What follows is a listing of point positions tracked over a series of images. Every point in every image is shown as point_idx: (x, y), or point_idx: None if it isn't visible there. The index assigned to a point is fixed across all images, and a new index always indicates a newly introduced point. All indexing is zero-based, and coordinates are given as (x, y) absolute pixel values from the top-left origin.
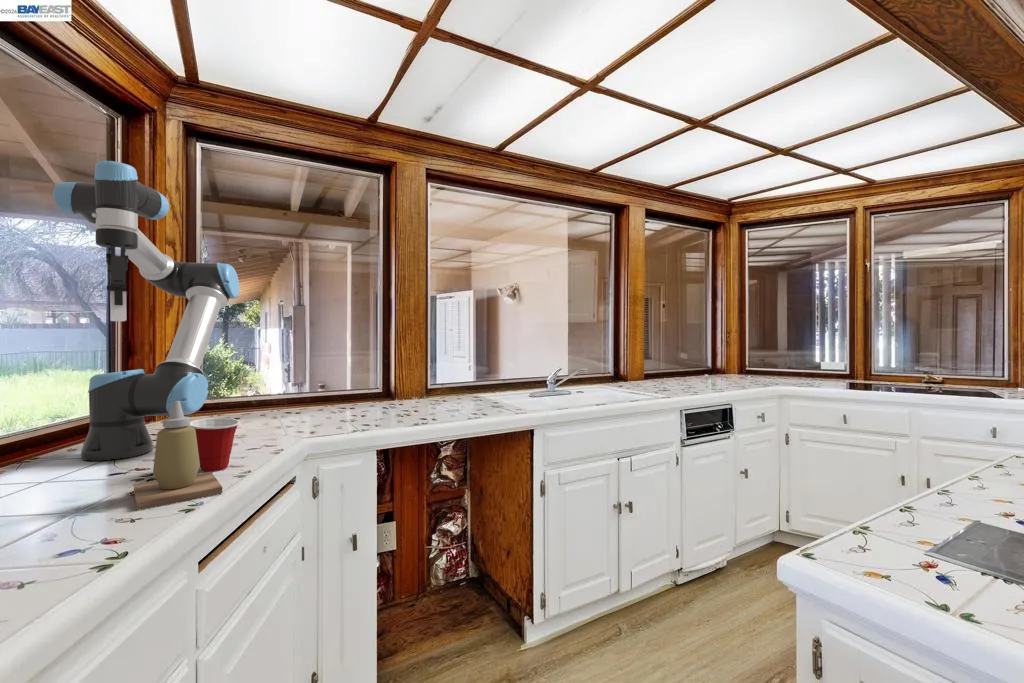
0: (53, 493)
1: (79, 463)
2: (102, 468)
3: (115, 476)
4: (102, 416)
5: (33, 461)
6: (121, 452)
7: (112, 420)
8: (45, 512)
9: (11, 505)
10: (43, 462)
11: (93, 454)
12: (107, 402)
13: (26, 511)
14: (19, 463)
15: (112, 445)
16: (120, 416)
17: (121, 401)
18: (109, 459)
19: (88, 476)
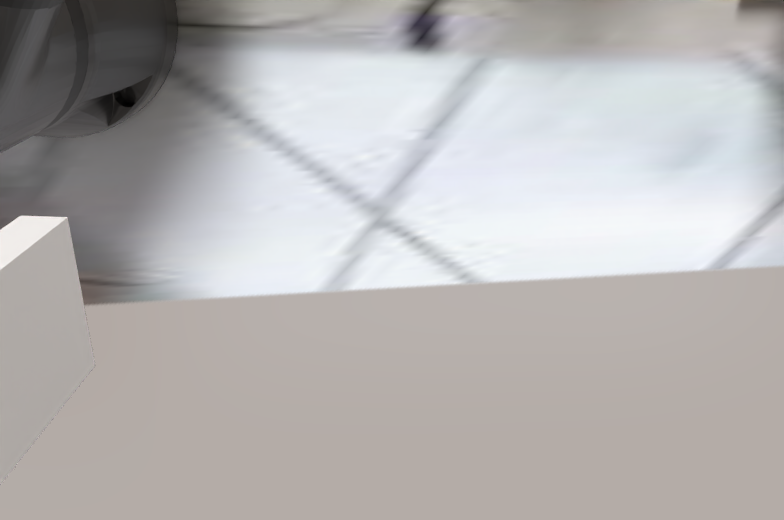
0: (556, 190)
1: (156, 133)
2: (296, 66)
3: (463, 31)
4: (51, 105)
5: None
6: (165, 5)
7: (72, 60)
8: (763, 201)
9: (607, 270)
10: None
11: (146, 99)
12: (21, 101)
13: (708, 238)
14: None
15: (146, 42)
16: (62, 29)
17: (46, 38)
18: (174, 43)
19: (395, 107)
